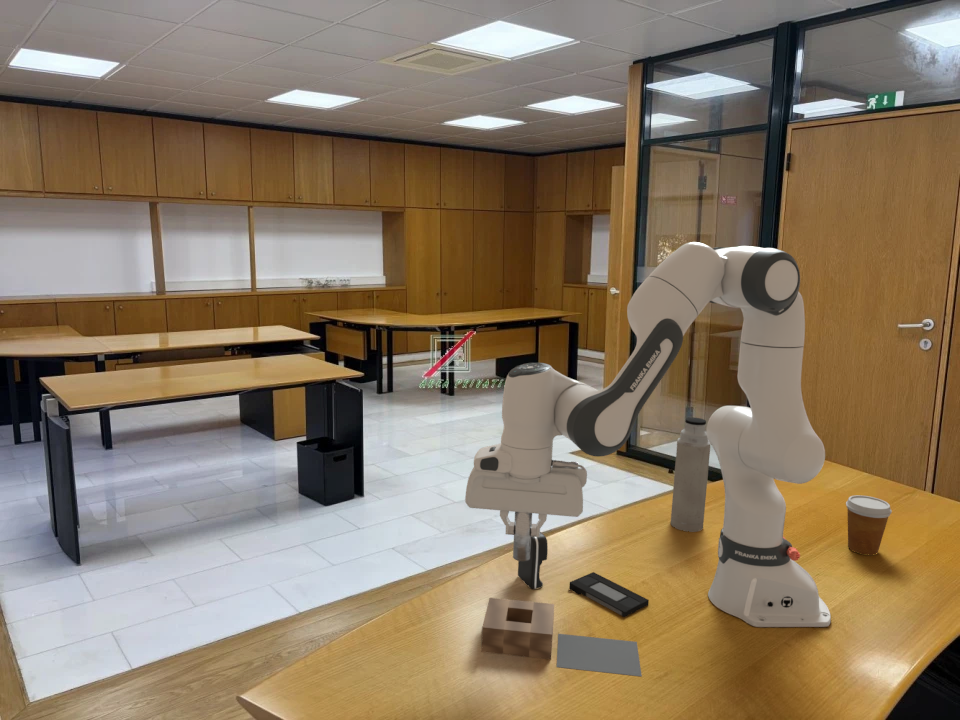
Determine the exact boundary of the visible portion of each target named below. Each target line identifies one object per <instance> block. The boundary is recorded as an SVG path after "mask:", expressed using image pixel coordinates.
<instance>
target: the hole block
mask: <svg viewBox="0 0 960 720" xmlns="http://www.w3.org/2000/svg"><path fill="white" fill-rule="evenodd" d="M554 619H555V604H554V603H547V602H546V603H545V602H536V601H526V600H516V599H507V598H497V597H496V598H495V597H488V603H487V606H486V611H485V615H484V619H483V623H482V626H481V653H487V654H488V653H490V654H497V655H507V656H518V657H525V658H526V657H527V658H534V659H535V658H536V659H544V660H551V659H552V651H553V648H552V647H553V638H554V637H553V635H554V633H553V632H554Z"/></svg>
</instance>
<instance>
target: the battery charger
mask: <svg viewBox="0 0 960 720" xmlns="http://www.w3.org/2000/svg"><path fill="white" fill-rule="evenodd" d="M548 546H549V545H548V539H547V537H546V535H544V534H543V533H542V532H541V531H540V535H539V537H531V550H530V559H529V560H527V561H518V563H517V576H518V578H520V580H521V581H522V582H523V583H524V584H525V585H526V586H527V587H529V588H530V589H531V590H536V589H540V588H542V587H543V585H544V583H543V581H542V580H541V579H540V572H541V571H540V570H541V566H542V564H543V561H546V560H547V559H548V550H549V549H548Z"/></svg>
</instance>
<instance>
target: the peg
mask: <svg viewBox="0 0 960 720" xmlns="http://www.w3.org/2000/svg"><path fill="white" fill-rule="evenodd" d="M513 522H514V535H513V547H512V549H513V550H512V551H513V553H512V558H513V559H514V560H515V561H527V560H529V559H530V550H531V526H532V524H533V513H525V512H514V521H513Z"/></svg>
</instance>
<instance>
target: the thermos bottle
mask: <svg viewBox="0 0 960 720" xmlns="http://www.w3.org/2000/svg"><path fill="white" fill-rule="evenodd" d="M706 425H707V420H706V419H705V418H701V417H692V416H691V417H686V418H685V424H684V428H683V429H681V431H680V434H679V436H680V437H678V438H677V440H676V441H677V442H676V452H675V464H674V465H675V466H674V474H673V475H674V477H673V487H672V488H673V489H672V490H673V491H672V500H671V501H672V502H671V513H670V526H671V527H672V528H674V527H675V528H674V529H676V530H679V531H682V530H683V532H688V531H689V532H690V533H695V532H696V533H697V532H700V531H702V530H703V529H704V522H705V521H704V520H705V509H706V500H707V499H706V498H707V488H708V476H709V466H710V454H711V446H712V445H711V444H710V442H709V440H708V438H707V433H706Z"/></svg>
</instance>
